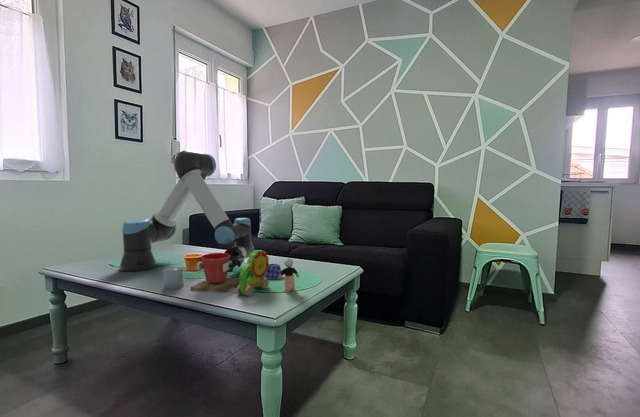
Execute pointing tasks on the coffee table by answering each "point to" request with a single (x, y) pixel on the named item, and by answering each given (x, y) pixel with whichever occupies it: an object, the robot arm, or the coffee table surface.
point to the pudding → (273, 271)
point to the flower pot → (215, 266)
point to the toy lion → (254, 273)
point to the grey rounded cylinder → (173, 278)
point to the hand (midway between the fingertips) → (210, 267)
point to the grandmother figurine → (289, 275)
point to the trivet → (215, 285)
